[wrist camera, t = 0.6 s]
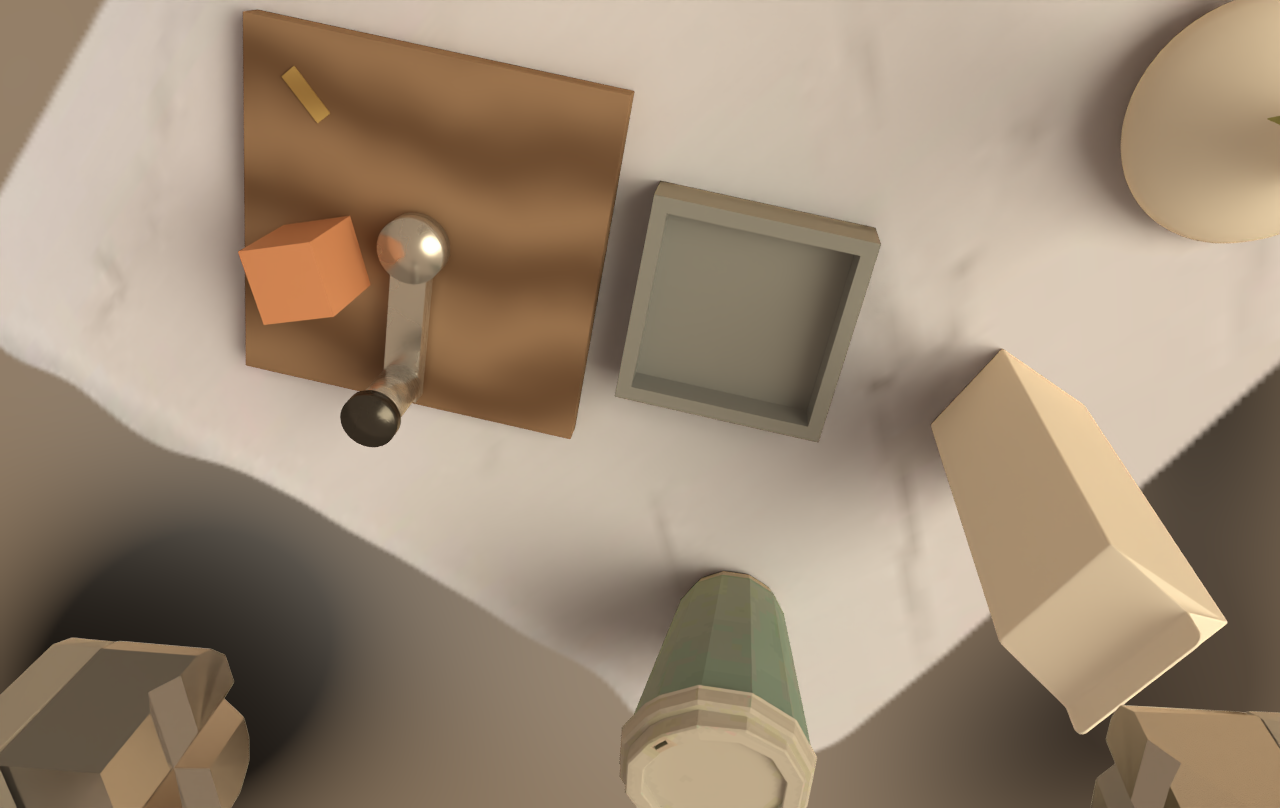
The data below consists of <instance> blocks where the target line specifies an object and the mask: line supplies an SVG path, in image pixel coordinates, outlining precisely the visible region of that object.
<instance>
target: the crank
mask: <svg viewBox="0 0 1280 808" xmlns="http://www.w3.org/2000/svg"><path fill="white" fill-rule="evenodd" d="M377 254H378V258H379V260H380V262H381V264H382V266H383V267H384V269H385V270H386V271H387V272H388V273H389V274H390V285H389V299H388V314H387V329H386V344H385V359H384V370H383V371H382V372H381V373H380V374H379V376H378V377H377V378H376V379H375V380H374V381H373V382H372V383H371V384H370V386H369V387H368V388H367V389H366V390H363V391H360V392H357V393H356V394H354V395H353V396H352V397H351V398H350V399H349V400H348V401H347V402H346V403H345V405H344V406H343V408H342V410H341V415H340V418H341V424H342V427H343V429H344V430H345V432H346V433H347V435H348V436H349V437H350V438H351V439H352V440H354V441H355V442H357V443H359V444H361V445H363V446H367V447H379V446H383V445H385V444H387V443H388V442H389V441H390V440H391V439H392V438H393V436H394V435H395V434H396V432H397V431H398V429H399V427H400V424H401V417H402V415H403V414H404V413H405V412H406V410H407V409H408V408H409V406H410V405H411V404H412V403H413V402H414V403H416V402H417V400H418V399H419V398H420V397H421V395H422V394H423V383H424V372H425V361H426V349H427V338H428V327H429V316H430V305H431V293H432V282H433V277H434V276H435V275H436V274H437V273H438V272H439V271H440V270H441V269H442V268H443V267H444V266H445V265H446V263H447V261H448V259H449V256H450V242H449V238H448V235H447V233H446V231H445V230H444V228H443V227H442V226H441V224H440V223H439V222H437V221H436V220H435V219H434V218H432V217H430V216H428V215H426V214H423V213H418V212H409V213H405V214H402V215H400V216H398V217H397V218H395V219H394V220H393V221H391V222H390V223H389V224H387V225H386V226H385V227H384V228H383V229H382V231H381V232H380V234H379V237H378V240H377Z"/></svg>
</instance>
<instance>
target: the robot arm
mask: <svg viewBox="0 0 1280 808" xmlns="http://www.w3.org/2000/svg"><path fill="white" fill-rule="evenodd" d="M233 683H234V680H233V677H232V674H231V671H230V668H229V665H228V662H227V659H226V656H225V655H224V654H222V653H219V652H217V651H215V650H212V649H206V648H194V647H182V646H171V645H159V644H148V643H137V642H126V641H118V642H111V641H101V640H91V639H80V638H70V639H67V640H64V641H61V642H59V643H56V644H53V645H52V646H51V647H50V648H49V649H48V650H47V651H46V652H45V653H44V654H43V655H42V656H40V657H39V658H38V659H37V660H36V661H35V662H34V663H33V664H32V665H31V666H30V667H29V668H28V669H27V670H26V671H25V672H24V673H23V674H22V675H21V676H20V677H18V678H17V679H16V681H14V682H13V683H12V684H11V685H10V686H9V687H8V688H7V689H6V690H5V691H4V692H3V693H2V694H1V695H0V808H231V807H232V805H233V803H234V801H235V800H236V798H237V797H238V795H239V793H240V791H241V787H242V784H243V781H244V777H245V774H246V770H247V767H248V763H249V735H248V731H247V727H246V723H245V719H244V717H243V716H242V715H241V714H240V713H239V712H238V711H237V710H236V709H235V708H233V707H232V706H231V705H230V704H229V703H228V702H227V701H226V700H225V699H224V698H225V696H226V695H227V693H228V691H229V690H230V688H231V686H232V685H233ZM1106 742H1107V744H1108V747H1109V749H1110V752H1111V754H1112V756H1113V759H1114V761H1115V764H1114V765H1113V766H1112V767H1111V768H1109V769H1108V770H1107V771H1105V772H1104V773H1103V774H1101V775H1100V776H1099V777H1097V778H1096V782H1095V788H1094V793H1093V798H1092V803H1091V808H1280V713H1277V712H1255V711H1248V712H1246V713H1242V712H1236V711H1217V710H1200V709H1181V708H1163V707H1144V706H1127V705H1120V706H1119V707H1118V709H1117V710H1116V712H1115V713H1114V714H1113V716H1112V717H1111V721H1110V725H1109V729H1108V733H1107V736H1106Z"/></svg>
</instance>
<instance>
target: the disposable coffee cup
mask: <svg viewBox="0 0 1280 808" xmlns="http://www.w3.org/2000/svg"><path fill="white" fill-rule="evenodd" d="M816 760H817V756H816V755H815V753H814V751H813V749H812V747H811V745H810V740H809V735H808V730H807V725H806V721H805V716H804V711H803V706H802V701H801V696H800V691H799V686H798V681H797V676H796V672H795V667H794V662H793V657H792V652H791V647H790V642H789V637H788V632H787V628H786V623H785V618H784V613H783V611H782V610H781V608H780V606H779V604H778V602H777V600H776V598H775V596H774V594H773V593H772V592H771V590H770V588H769V587H767V586H766V585H764V584H763V583H761V582H760V581H758V580H756V579H755V578H753V577H752V576H750V575H748V574H741V573H733V572H726V571H723V572H720V573H716V574H713V575H710V576H707V577H703V578H701V579H700V580H699V581H698V582H697V583H696V584H695V585H694V586H693V587H692V588H691V589H690V590H689V591H688V593H687V594H686V595H685V596H684V597H683V598H682V599H681V601H680V604H679V606H678V608H677V611H676V613H675V616H674V618H673V621H672V623H671V625H670V628H669V630H668V633H667V635H666V638H665V640H664V642H663V645H662V647H661V650H660V652H659V655H658V657H657V660H656V662H655V664H654V667H653V669H652V672H651V674H650V677H649V679H648V681H647V684H646V686H645V689H644V691H643V694H642V696H641V699H640V701H639V703H638V706H637V708H636V711H635V713H634V715H633V716H632V717H631V718H630V719H629V720H628V721H627V722H626V723H625V725H624V726H623V727H622V734H621V748H620V778H621V779H622V781H623V782H624V784H625V793H626V794H627V795H628V797H629V798H630V799H631V801H632V802H633V803H634V805H635V806H636V807H637V808H806V807H807V805H808V800H809V795H810V790H811V785H812V780H813V775H814V770H815V765H816Z"/></svg>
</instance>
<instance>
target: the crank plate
mask: <svg viewBox="0 0 1280 808" xmlns="http://www.w3.org/2000/svg"><path fill="white" fill-rule="evenodd" d="M243 83H244V203H245V247H247V246H248V245H250V244H252V243H254V242H255V241H257V240H259V239H260V238H262V237H264V236H265V235H267V234H269V233H271V232H272V231H274V230H276V229H277V228H279V227H281V226H282V225H286V224H294V223H301V222H308V221H315V220H323V219H330V218H337V217H344V216H350V217H351V221H352V224H353V227H354V231H355V234H356V237H357V241H358V244H359V248H360V251H361V254H362V258H363V261H364V264H365V268H366V271H367V274H368V278H369V281H370V286H369V287H368V288H367V289H365V290H364V291H363V292H362V293H361V294H360V295H358V296H357V297H356V298H355V299H354V300H353V301H352V302H350V303H349V304H348V305H347V306H346V307H345V308H343V309H342V310H341V311H340V312H339V313H338V314H337V315H335V316H334V317H328V318H319V319H310V320H302V321H293V322H285V323H276V324H268V325H264V324H263V321H262V318H261V316H260V313H259V310H258V307H257V304H256V301H255V299H254V296H253V293H252V290H251V287H250V284H249V282H248V279H247V276H246V273H245V323H246V365H247V366H251V367H256V368H260V369H265V370H269V371H273V372H278V373H282V374H287V375H291V376H295V377H300V378H304V379H309V380H313V381H317V382H322V383H326V384H330V385H335V386H339V387H344V388H348V389H352V390H357V391H363V390H366V389H367V388H368V387H369V386H370V384H371V383H372V382H373V381H374V380H375V379H376V378H377V377H378V376H379V374H380V373H381V372H382V371H383V370H384V359H385V344H386V329H387V314H388V299H389V285H390V274H389V273H388V272H387V271H386V270H385V269H384V267H383V266H382V264H381V262H380V260H379V258H378V254H377V240H378V237H379V234H380V232H381V231H382V229H383V228H384V227H385V226H386V225H387V224H389V223H390V222H391V221H393V220H394V219H395V218H397V217H398V216H400V215H402V214H405V213H409V212H418V213H423V214H426V215H428V216H430V217H432V218H434V219H435V220H436V221H437V222H439V223H440V224H441V226H442V227H443V228H444V230H445V231H446V233H447V235H448V238H449V242H450V256H449V259H448V261H447V263H446V265H445V266H444V267H443V268H442V269H441V270H440V271H439V272H438V273H437V274H436V275H435V276H434V277H433V282H432V293H431V305H430V316H429V327H428V338H427V349H426V361H425V372H424V383H423V394H422V395H421V397H420V398H419V399H418V400H417V402H416V403H414V402H413V403H414V404H418V405H423V406H427V407H431V408H436V409H440V410H445V411H449V412H453V413H458V414H462V415H466V416H471V417H475V418H480V419H484V420H488V421H493V422H497V423H502V424H506V425H510V426H515V427H519V428H524V429H528V430H532V431H537V432H541V433H545V434H550V435H554V436H559V437H563V438H567V439H571V436H572V434H573V431H574V429H575V425H576V419H577V413H578V408H579V402H580V396H581V391H582V385H583V379H584V374H585V368H586V362H587V357H588V351H589V345H590V340H591V334H592V328H593V323H594V317H595V311H596V306H597V300H598V294H599V289H600V283H601V278H602V272H603V266H604V261H605V255H606V249H607V244H608V238H609V232H610V227H611V221H612V215H613V210H614V204H615V198H616V193H617V187H618V181H619V176H620V170H621V164H622V159H623V153H624V147H625V142H626V136H627V130H628V125H629V119H630V113H631V108H632V102H633V96H634V91H631V90H627V89H622V88H617V87H613V86H608V85H604V84H599V83H594V82H590V81H585V80H580V79H576V78H571V77H567V76H562V75H557V74H553V73H548V72H544V71H539V70H534V69H530V68H525V67H520V66H516V65H511V64H507V63H502V62H497V61H493V60H488V59H483V58H479V57H474V56H470V55H465V54H460V53H456V52H451V51H446V50H442V49H437V48H433V47H428V46H423V45H419V44H414V43H409V42H405V41H400V40H396V39H391V38H386V37H382V36H377V35H373V34H368V33H363V32H359V31H354V30H349V29H345V28H340V27H336V26H331V25H326V24H322V23H317V22H312V21H308V20H303V19H299V18H294V17H289V16H285V15H280V14H275V13H271V12H266V11H262V10H251V11H244V12H243Z"/></svg>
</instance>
